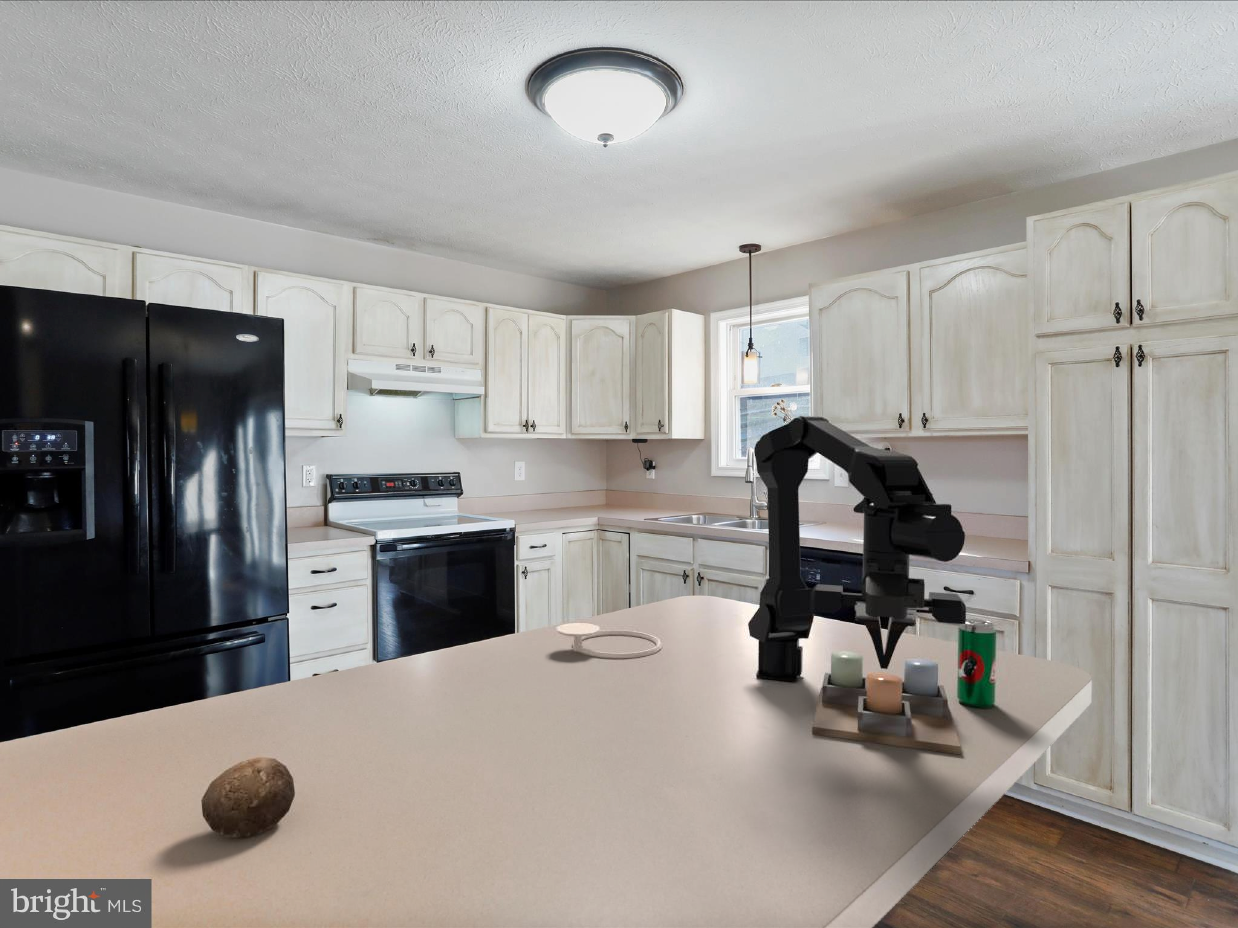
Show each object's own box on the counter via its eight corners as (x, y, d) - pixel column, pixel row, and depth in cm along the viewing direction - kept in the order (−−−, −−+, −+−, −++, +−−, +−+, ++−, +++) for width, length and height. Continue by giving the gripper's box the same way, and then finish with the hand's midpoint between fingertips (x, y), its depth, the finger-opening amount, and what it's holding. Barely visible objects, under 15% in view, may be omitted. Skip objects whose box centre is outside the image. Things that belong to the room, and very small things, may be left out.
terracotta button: (866, 711, 93) (866, 681, 93) (866, 700, 97) (866, 671, 97) (902, 716, 91) (903, 685, 91) (901, 704, 95) (901, 674, 95)
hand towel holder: (678, 630, 130) (573, 642, 122) (678, 654, 131) (573, 667, 122) (637, 610, 146) (542, 619, 137) (637, 632, 146) (541, 642, 137)
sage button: (829, 685, 103) (830, 658, 103) (831, 676, 107) (831, 650, 107) (862, 689, 101) (862, 661, 101) (862, 679, 106) (862, 653, 105)
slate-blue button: (904, 694, 100) (905, 665, 99) (903, 684, 104) (903, 656, 104) (938, 697, 98) (939, 669, 98) (936, 688, 102) (936, 660, 102)
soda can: (999, 710, 102) (1001, 627, 102) (961, 707, 103) (963, 625, 103) (989, 698, 107) (990, 619, 107) (952, 695, 108) (954, 617, 108)
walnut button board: (812, 734, 93) (812, 708, 93) (820, 693, 109) (821, 671, 109) (960, 754, 87) (961, 726, 87) (947, 708, 103) (947, 685, 103)
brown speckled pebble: (231, 768, 75) (237, 733, 72) (303, 794, 76) (313, 760, 73) (181, 840, 68) (186, 804, 65) (262, 868, 69) (270, 834, 66)
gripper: (807, 554, 89) (805, 678, 90) (973, 563, 83) (970, 696, 83) (814, 543, 100) (812, 654, 100) (961, 551, 93) (959, 669, 94)
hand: (884, 667), depth 94 cm, fingers closed
